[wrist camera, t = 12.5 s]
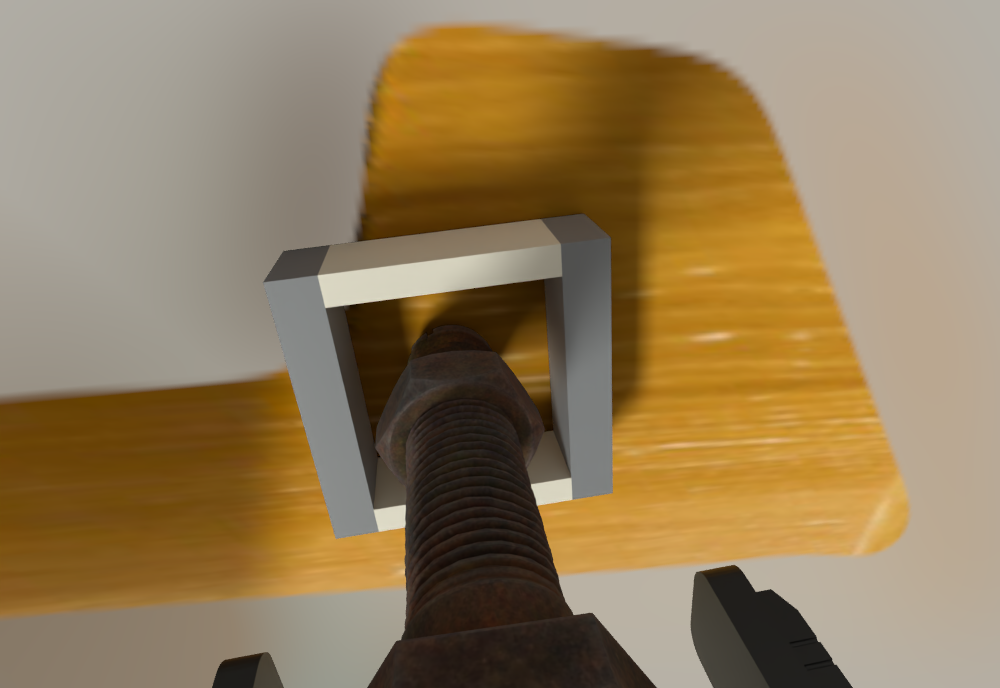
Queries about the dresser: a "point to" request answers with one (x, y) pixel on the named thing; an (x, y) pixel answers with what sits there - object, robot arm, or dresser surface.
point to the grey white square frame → (435, 269)
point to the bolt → (480, 535)
